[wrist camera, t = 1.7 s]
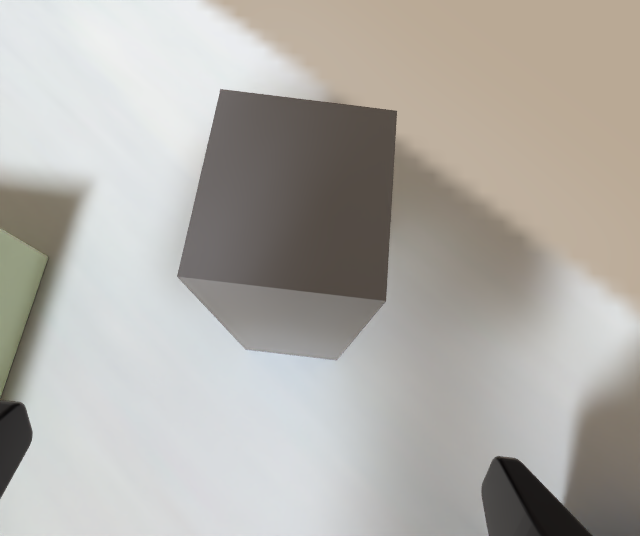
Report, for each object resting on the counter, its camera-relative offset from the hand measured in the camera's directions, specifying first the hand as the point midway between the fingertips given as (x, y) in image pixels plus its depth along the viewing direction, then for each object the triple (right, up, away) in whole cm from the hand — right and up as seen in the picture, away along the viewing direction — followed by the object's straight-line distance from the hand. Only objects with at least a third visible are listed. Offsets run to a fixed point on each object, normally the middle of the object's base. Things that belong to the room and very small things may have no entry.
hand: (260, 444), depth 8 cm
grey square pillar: (0, +2, +13) cm, 13 cm away
